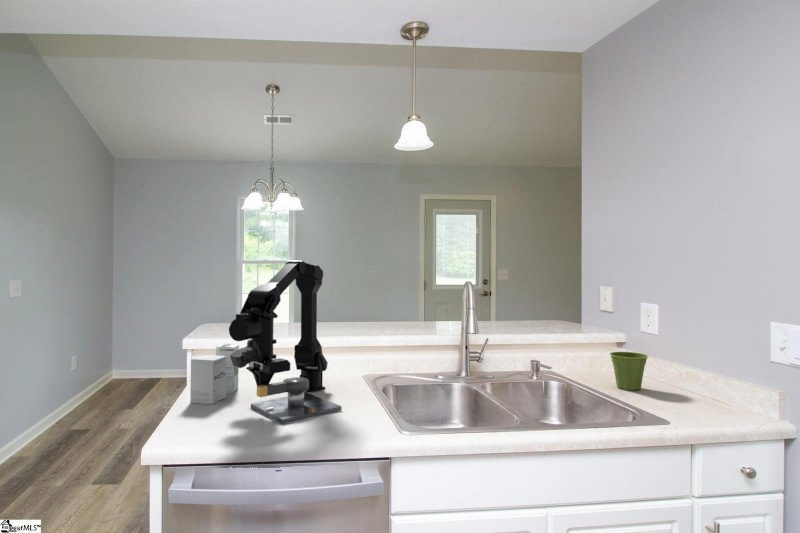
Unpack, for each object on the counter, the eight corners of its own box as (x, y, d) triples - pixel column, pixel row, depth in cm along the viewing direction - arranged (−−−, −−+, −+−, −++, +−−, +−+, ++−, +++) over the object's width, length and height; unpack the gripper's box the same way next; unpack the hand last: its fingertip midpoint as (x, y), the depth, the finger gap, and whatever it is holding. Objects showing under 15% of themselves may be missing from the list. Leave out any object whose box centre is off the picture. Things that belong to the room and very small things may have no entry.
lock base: (306, 396, 149) (307, 379, 149) (341, 410, 135) (341, 391, 135) (250, 407, 137) (250, 389, 136) (282, 424, 123) (282, 403, 123)
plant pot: (636, 383, 169) (637, 351, 169) (655, 393, 157) (655, 357, 157) (602, 383, 169) (603, 351, 169) (619, 392, 157) (619, 357, 157)
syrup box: (219, 389, 156) (220, 343, 156) (238, 389, 157) (239, 343, 156) (214, 394, 150) (215, 346, 150) (234, 393, 151) (234, 346, 151)
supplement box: (212, 404, 139) (213, 360, 139) (189, 402, 141) (189, 359, 141) (227, 397, 147) (227, 355, 146) (204, 396, 148) (205, 354, 148)
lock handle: (300, 385, 141) (300, 376, 141) (313, 389, 136) (313, 380, 136) (252, 393, 131) (252, 384, 131) (264, 399, 126) (264, 389, 126)
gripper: (217, 335, 133) (217, 392, 133) (253, 343, 120) (252, 407, 120) (254, 331, 141) (254, 385, 141) (291, 338, 128) (291, 398, 128)
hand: (261, 393), depth 133 cm, fingers closed
